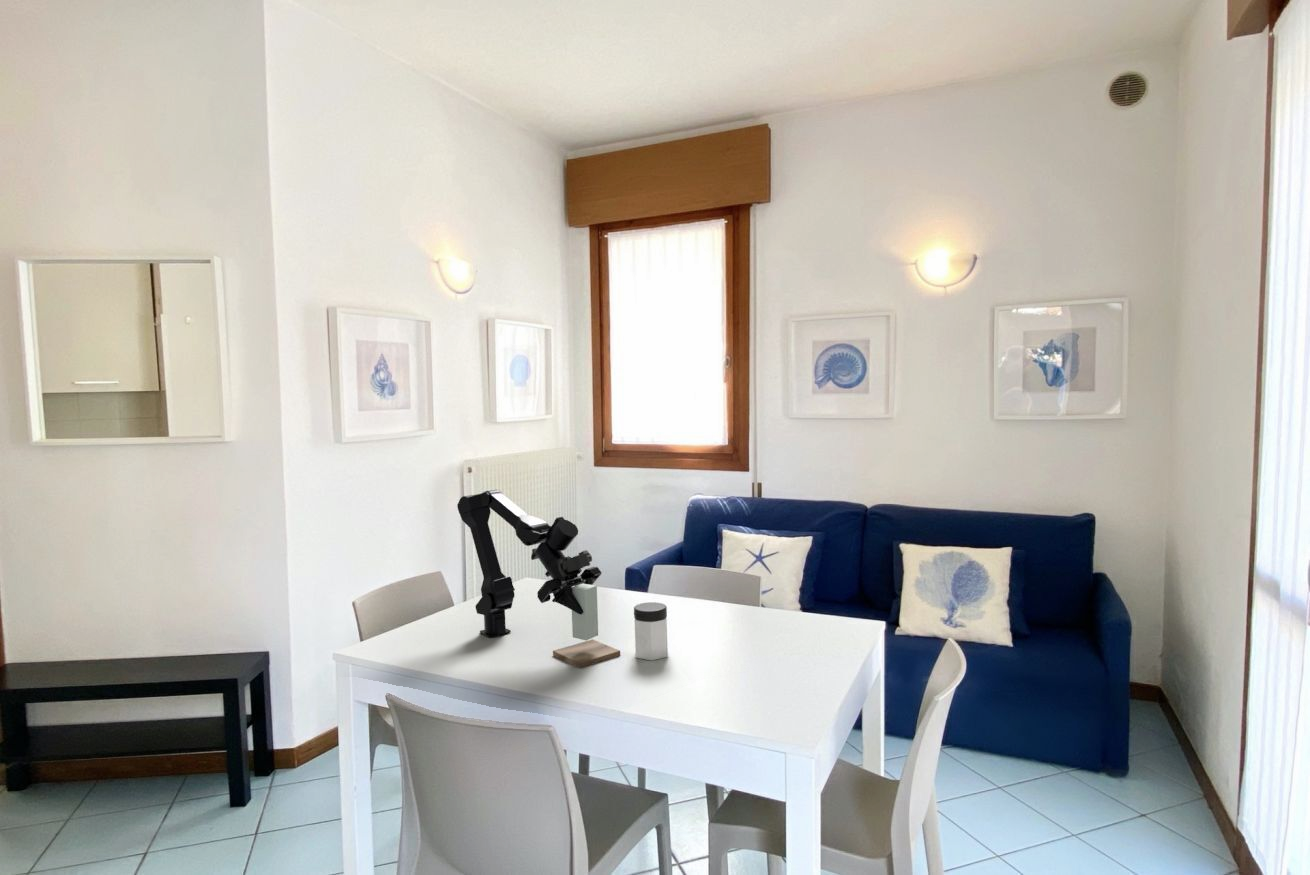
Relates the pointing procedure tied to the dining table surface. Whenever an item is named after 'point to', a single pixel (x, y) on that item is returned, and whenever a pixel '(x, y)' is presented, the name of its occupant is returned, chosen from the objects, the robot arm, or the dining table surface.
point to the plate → (586, 653)
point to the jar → (651, 631)
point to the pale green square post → (585, 612)
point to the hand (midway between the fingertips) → (588, 610)
